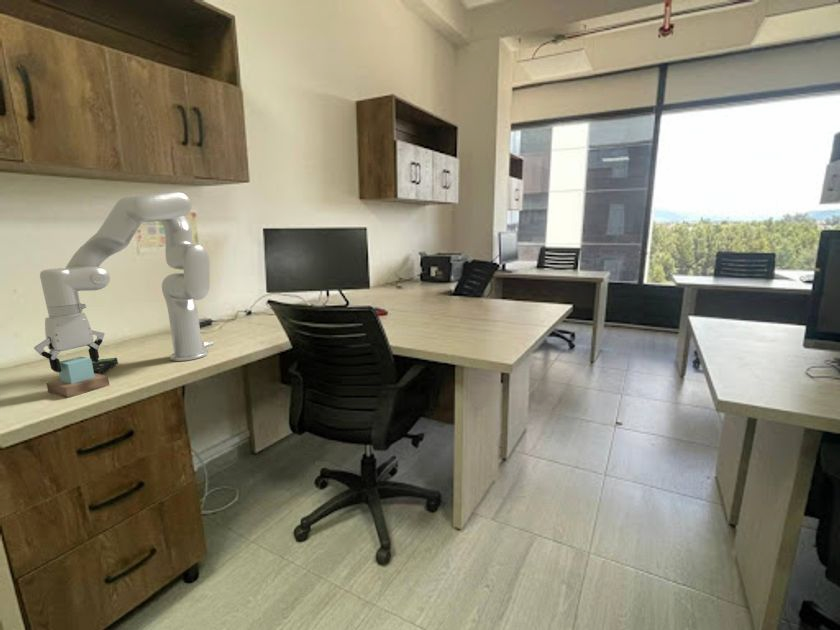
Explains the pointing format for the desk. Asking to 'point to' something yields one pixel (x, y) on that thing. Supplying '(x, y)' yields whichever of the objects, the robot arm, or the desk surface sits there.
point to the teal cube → (76, 370)
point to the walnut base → (77, 386)
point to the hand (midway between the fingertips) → (76, 366)
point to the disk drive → (104, 365)
